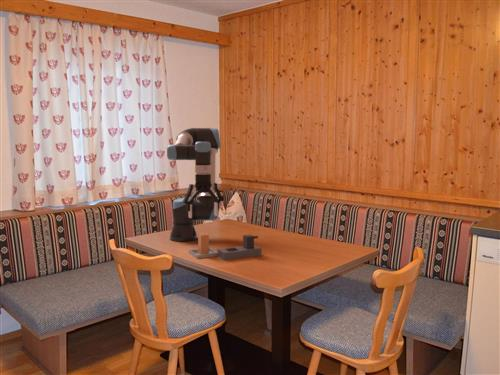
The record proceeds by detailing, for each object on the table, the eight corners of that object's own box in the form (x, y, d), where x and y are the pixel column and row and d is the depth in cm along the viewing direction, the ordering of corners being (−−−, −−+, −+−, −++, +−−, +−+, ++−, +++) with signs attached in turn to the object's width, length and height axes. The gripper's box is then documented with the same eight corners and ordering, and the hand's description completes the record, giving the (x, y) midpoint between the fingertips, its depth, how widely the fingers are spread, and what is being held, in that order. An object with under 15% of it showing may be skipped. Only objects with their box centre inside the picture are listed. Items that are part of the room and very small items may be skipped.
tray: (188, 253, 232) (188, 249, 232) (209, 251, 237) (209, 247, 237) (196, 259, 222) (196, 255, 222) (218, 256, 227) (218, 252, 227)
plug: (198, 253, 230) (198, 234, 229) (205, 252, 232) (205, 233, 231) (201, 255, 227) (201, 235, 225) (208, 254, 229) (208, 235, 227)
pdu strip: (217, 257, 227) (217, 237, 225) (253, 252, 236) (253, 233, 234) (224, 261, 220) (224, 240, 218) (261, 256, 229) (261, 236, 227)
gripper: (181, 175, 215) (181, 220, 218) (229, 173, 227) (229, 215, 229) (175, 173, 222) (176, 217, 224) (223, 172, 233) (223, 213, 236)
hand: (203, 216), depth 227 cm, fingers open, 13 cm apart
